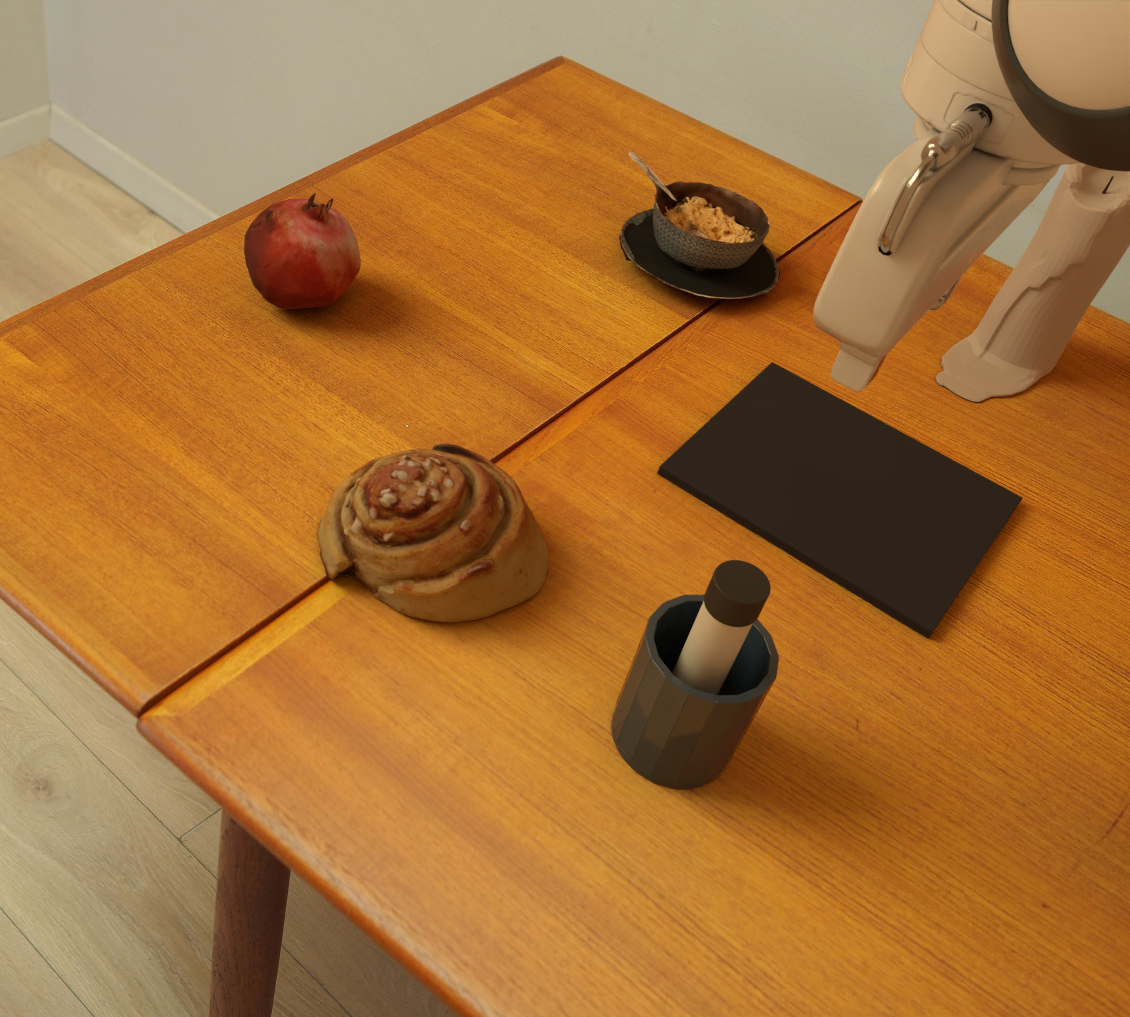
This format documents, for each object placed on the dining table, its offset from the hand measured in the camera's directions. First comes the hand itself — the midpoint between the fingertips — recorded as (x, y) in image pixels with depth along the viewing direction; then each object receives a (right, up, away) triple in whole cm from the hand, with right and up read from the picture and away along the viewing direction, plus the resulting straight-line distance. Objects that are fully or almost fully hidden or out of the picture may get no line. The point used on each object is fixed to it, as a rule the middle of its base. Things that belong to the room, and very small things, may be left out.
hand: (890, 338), depth 58 cm
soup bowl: (0, +14, +49) cm, 51 cm away
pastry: (-23, -12, +20) cm, 33 cm away
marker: (-9, -22, +12) cm, 26 cm away
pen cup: (-9, -22, +12) cm, 27 cm away
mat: (+7, -7, +29) cm, 31 cm away
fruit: (-35, +9, +38) cm, 52 cm away
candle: (+25, +4, +43) cm, 50 cm away
